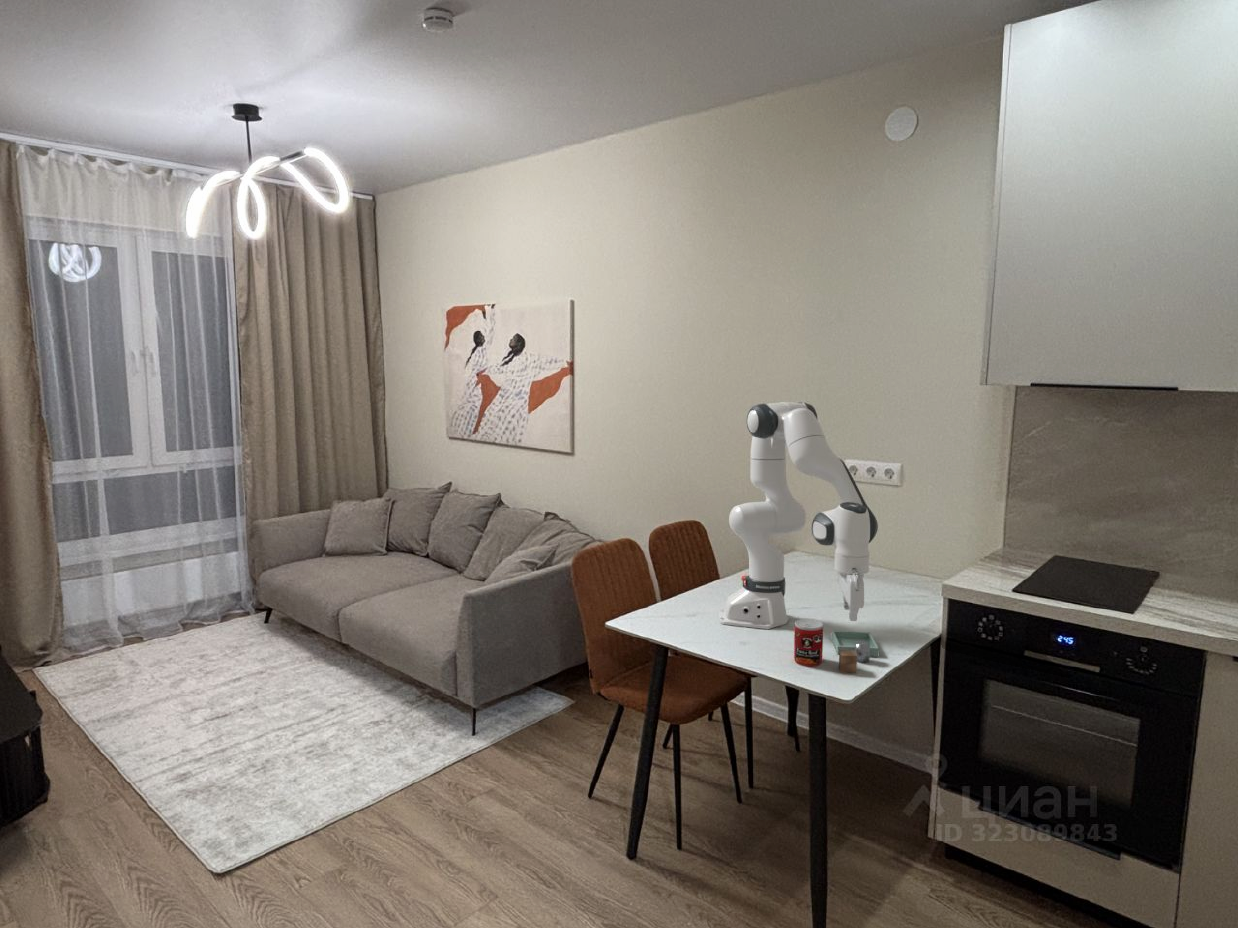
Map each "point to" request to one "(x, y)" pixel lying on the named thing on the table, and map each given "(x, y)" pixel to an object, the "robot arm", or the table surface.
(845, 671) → the walnut block
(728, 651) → the table surface
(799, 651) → the canned food
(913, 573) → the table surface
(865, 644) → the metal peg
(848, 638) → the tray
